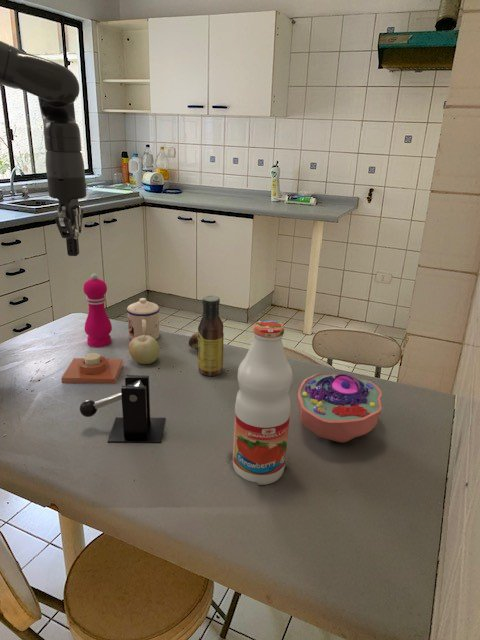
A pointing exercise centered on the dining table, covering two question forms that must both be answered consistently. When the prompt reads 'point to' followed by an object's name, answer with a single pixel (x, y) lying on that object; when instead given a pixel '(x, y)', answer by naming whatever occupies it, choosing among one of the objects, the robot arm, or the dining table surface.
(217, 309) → the sauce bottle
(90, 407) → the tap lever
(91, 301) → the pepper mill
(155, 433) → the bracket
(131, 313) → the teacup with lid
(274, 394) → the fruit juice
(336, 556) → the dining table surface
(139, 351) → the fruit
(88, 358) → the button
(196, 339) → the mushroom
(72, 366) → the tiered orange pedestal
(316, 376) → the cell model
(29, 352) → the dining table surface
